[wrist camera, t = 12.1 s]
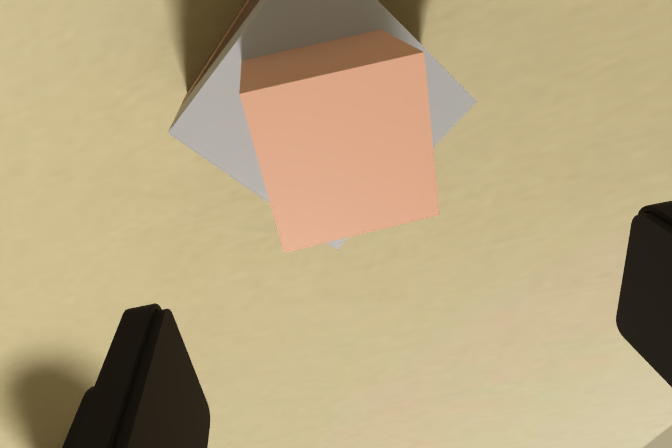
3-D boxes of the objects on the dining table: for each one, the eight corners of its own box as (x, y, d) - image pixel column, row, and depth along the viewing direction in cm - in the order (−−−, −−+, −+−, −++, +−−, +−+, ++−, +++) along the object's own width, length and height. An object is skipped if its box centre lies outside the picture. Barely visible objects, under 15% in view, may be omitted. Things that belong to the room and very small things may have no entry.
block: (380, 29, 21) (424, 52, 16) (397, 159, 24) (439, 214, 19) (241, 60, 21) (239, 93, 15) (276, 188, 24) (283, 252, 18)
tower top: (444, 81, 27) (477, 101, 23) (325, 211, 30) (336, 249, 26) (304, -60, 23) (315, -64, 19) (180, 106, 26) (167, 133, 22)
